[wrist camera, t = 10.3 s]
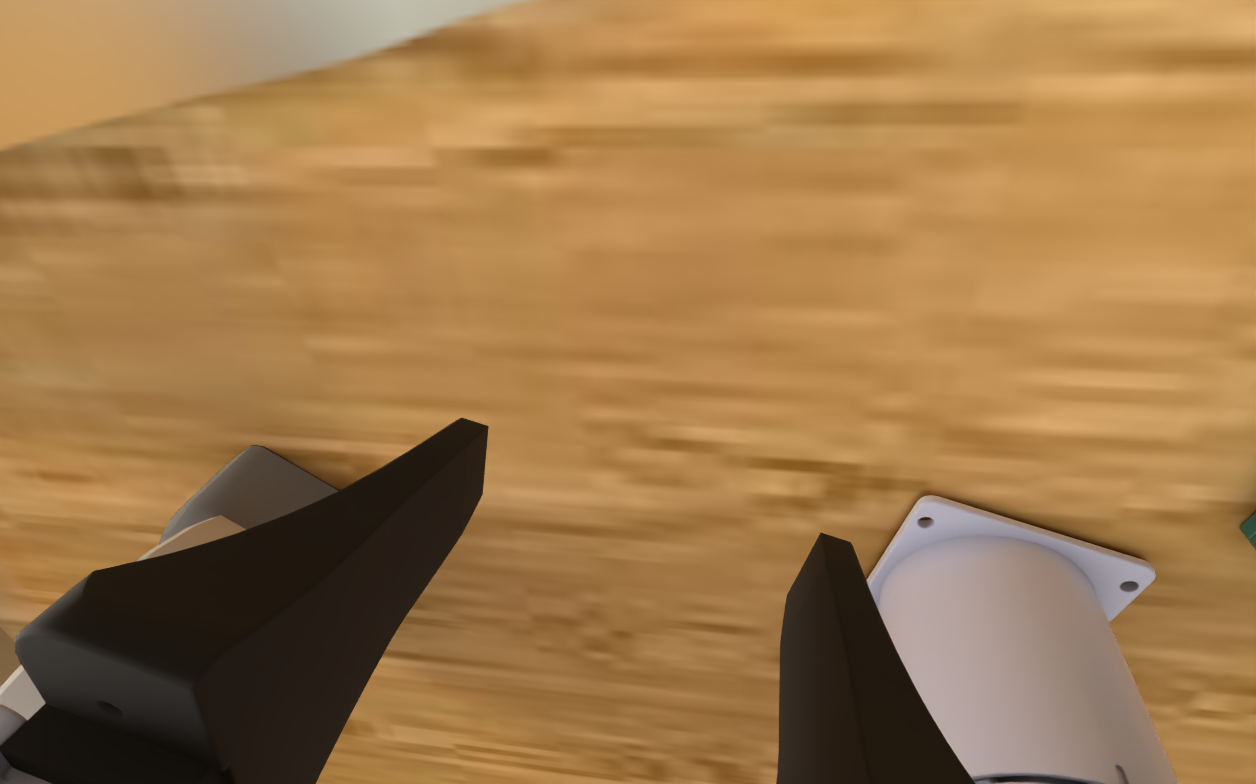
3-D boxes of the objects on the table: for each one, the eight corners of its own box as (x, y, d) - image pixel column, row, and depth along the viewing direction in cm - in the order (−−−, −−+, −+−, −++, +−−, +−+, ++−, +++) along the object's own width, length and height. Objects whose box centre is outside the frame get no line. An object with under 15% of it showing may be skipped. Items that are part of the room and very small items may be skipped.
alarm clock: (230, 399, 29) (-378, 844, 14) (428, 515, 30) (49, 1044, 15) (196, 578, 39) (-194, 960, 24) (348, 662, 39) (64, 1079, 25)
